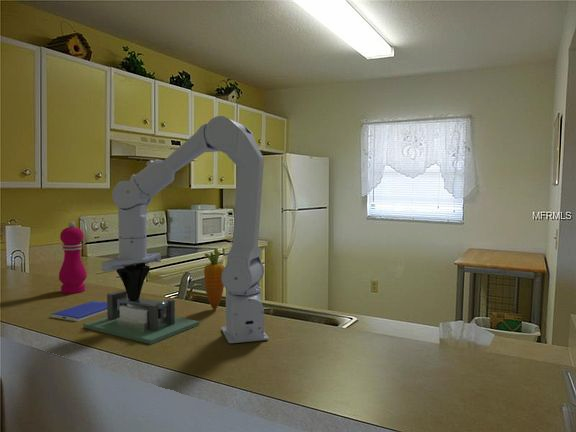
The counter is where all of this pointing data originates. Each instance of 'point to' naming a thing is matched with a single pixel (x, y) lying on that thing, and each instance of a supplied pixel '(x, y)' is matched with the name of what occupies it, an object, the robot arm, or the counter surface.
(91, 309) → the hard drive
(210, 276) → the carrot
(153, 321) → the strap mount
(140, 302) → the metal bar
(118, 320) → the heat sink
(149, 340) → the motherboard
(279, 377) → the counter surface
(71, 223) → the pepper mill
